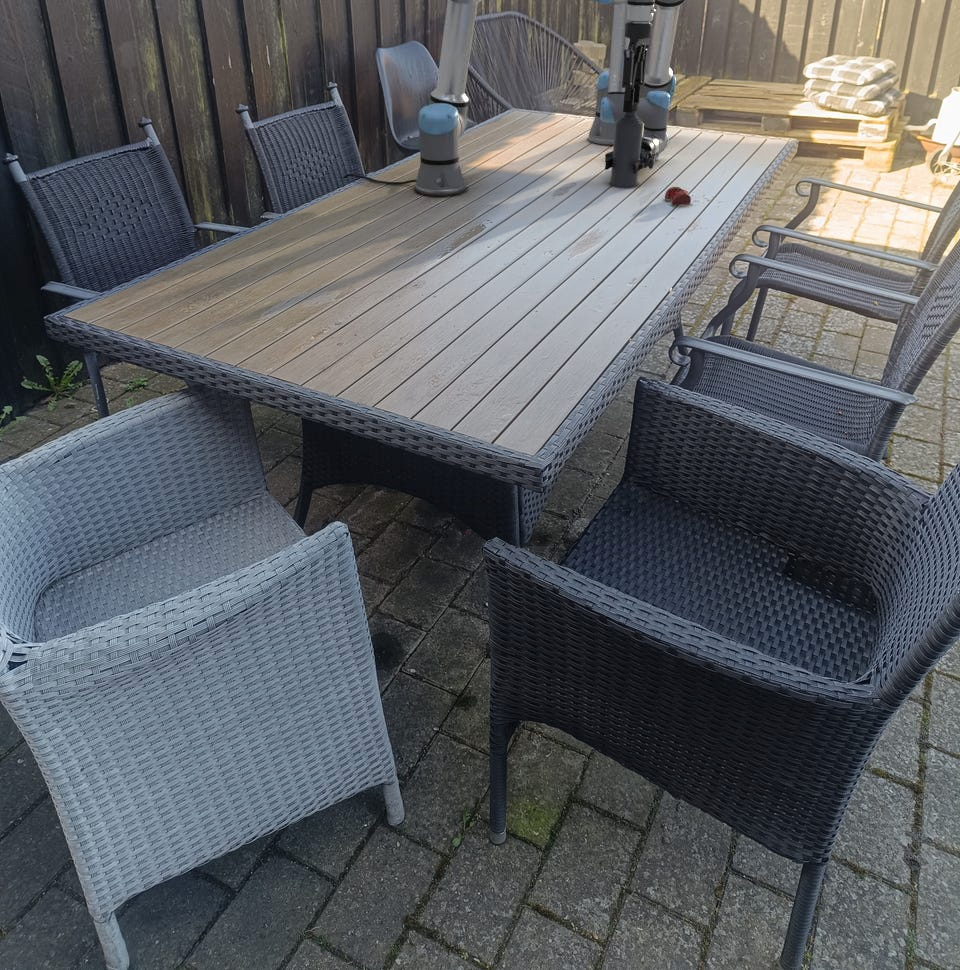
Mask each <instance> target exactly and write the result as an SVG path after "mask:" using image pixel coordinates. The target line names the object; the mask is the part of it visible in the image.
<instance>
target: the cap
mask: <svg viewBox="0 0 960 970" xmlns="http://www.w3.org/2000/svg"><path fill="white" fill-rule="evenodd" d="M638 105H639V103H638V102H633V111H632V112H635V111H638Z"/></svg>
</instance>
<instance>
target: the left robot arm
mask: <svg viewBox="0 0 960 970" xmlns="http://www.w3.org/2000/svg"><path fill="white" fill-rule="evenodd" d="M481 1H482V0H446V7H445V17H444V25H443V32H442V33H443V34H442V42H441V50H440V58H439V65H438V66H439V67H438V75H437V81H436V82H437V84H436V88H435V89H434V90H433V91H431V92H430V98H429V99H430V100H429V105H425V106H423V107H422V108H420V110H419V112H418V119H417V123H418V132H419V133H418V134H419V135H418V136H419V157H420V158H419V159H420V161H419V162H420V164H419V168H418V172H417V176H416V179H410V180H409V179H408V180H405V181H385V180H379V179H375V178H372V177H370V176H365V175H360V174H356V173H347V174H345V175H344V176H343V177H342V179H344V180H345V179H346V178H348V177H355V178H360V179H363V180H368V181H370V182H373V183H377V184H383V185H407V184H412V183H414V184H415V185H414V186H415V192H417V193H418V194H420V195H424V196H430V197H450V196H455V195H459V194H461V193H463V192H464V191H466V181H465V179H464V176H463V172H462V169H461V165H460V144H459V143H460V141H459V140H460V138H461V137H462V136H463V134H464V133H465V131H466V129H467V126H468V123H469V119H468V107H469V97H468V95H467V94H466V87H467V79H468V72H469V66H470V65H469V64H470V59H471V51H472V44H473V36H474V30H475V22H476V15H477V8H478V4H479V3H480V2H481ZM588 1H591V2H596V3H598V4H600V5H601V4H602V5H608V4H611V3H612V1H614V0H588ZM654 4H655V0H628V4H627V14H626V20H627V21H628V22H627V23H626V27H625V37H627V38H629V39H630V42H629V46H628V50H624V67H623V80H622V88H625V95H624V106H623V112H629V113H632V111H633V102H638V103H639V100H640V90H641V86H640V85H644V83H645V82H644V80H645V72H646V63H647V54H648V49H649V44H647V41H646V39H647V40H648V38H650V37H651V35H652V25H653V24H652V23H651V21H652V20H653V14H654V13H655V9H654ZM642 81H643V82H642ZM638 109H639V105H638Z"/></svg>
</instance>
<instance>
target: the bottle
mask: <svg viewBox="0 0 960 970" xmlns="http://www.w3.org/2000/svg"><path fill="white" fill-rule="evenodd" d="M643 131H644V123H643V121H642V120H641V119H640V118H639V117H637V115H636V111H635V112H632V113H629V112H625V115H623V116H622V117H621V118H619V119H618V120H617V122H616V125H615V136H614V145H613V147H612V148H613V149H612V151H613V159H612V167H611V170H610V182H609V183H610V185H611V186H613V187H614V188H615V187H616V188H622V189H624V188H625V189H627V188H634V187H636V186H637V185H638V178H639V171H638V172H637V173H636V174H633V167H634V164H635V163H636V162H638V161H639V160H640V151H641V141H642V137H643Z"/></svg>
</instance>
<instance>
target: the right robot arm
mask: <svg viewBox="0 0 960 970" xmlns="http://www.w3.org/2000/svg"><path fill="white" fill-rule="evenodd" d="M685 2H686V0H655V4H654V9H655V13H654V14H653V20H652V21H651V23H652V24H653V25H652V35H651V37H650V38H647V42H646V44H649V49H648V54H647V63H646V72H645V80H644V82H645V83H644V85H640V86H641V90H640V100H639V109H638V111H636V115H637V117H639V118H640V119H641V120H642V121H643V132H642V141H641V151H640V160H639V161H638V162H636V163H635V164H634V167H633V174H636V173H637V172H638V173H639V171H641V170H644V169H647V168H648V169H650V170H651V169H653V168H654V167H655V165H656V163H658V162H659V157H660V154H661V153H662V152H664V151H665V149H666V148H667V146H668V145H669V141H670V140H669V139H670V138H669V135H668V131H667V130H668V121H669V113H670V106H671V104H672V102H673V99H674V95H675V89H676V86H677V85H676V83H677V79H676V75H675V74H673V70H672V68H671V67H670V66H671V61H672V54H673V50H674V49H673V48H674V43H675V37H676V33H677V26H678V20H679V16H680V15H679V13H680V9H681V6H682V5H683V4H684V3H685ZM611 3H612V5H613V13H612V14H613V15H612V28H611V40H610V41H611V42H610V54H609V55H610V56H609V69H608V70H605V71H603V72H601V73H600V74H599V75H598V79H597V86H596V101H595V112H594V113H595V115H594V119H593V122H592V124H591V127H590V129H589V132H588V139H587V140H588V141H589V142H591V143H593V144H597V145H602V146H614V136H615V125H616V122H617V120H618V119H619V118H621V117H622V116H623V115H625V112H623V106H624V95H625V88H622V80H623V67H624V50H628V46H629V42H630V39H629V38H627V37H625V27H626V23H627V22H628V21H627V20H626V14H627V4H628V0H614V1H612V2H611ZM642 82H643V81H642ZM612 159H613V150H612V151H609V152H607V153H605V155H604V163H605V165H604V170H605V171H608V170H609V169H612Z"/></svg>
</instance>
